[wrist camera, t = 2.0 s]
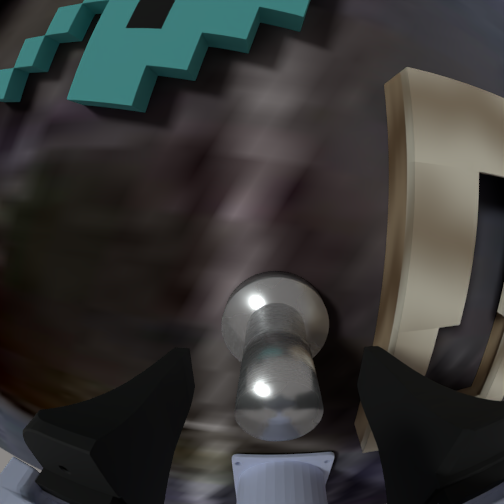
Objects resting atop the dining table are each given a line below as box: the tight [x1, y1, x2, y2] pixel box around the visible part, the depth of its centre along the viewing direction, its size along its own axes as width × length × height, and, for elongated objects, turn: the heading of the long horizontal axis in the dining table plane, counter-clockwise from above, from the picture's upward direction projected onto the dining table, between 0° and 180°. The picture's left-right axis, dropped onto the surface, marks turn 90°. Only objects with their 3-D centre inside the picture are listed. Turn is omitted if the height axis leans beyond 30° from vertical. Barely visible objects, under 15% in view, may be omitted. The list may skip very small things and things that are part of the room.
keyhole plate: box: [354, 67, 504, 453], centre depth 14 cm, size 22×12×3 cm, turn 1°
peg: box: [222, 271, 329, 441], centre depth 12 cm, size 6×6×8 cm
